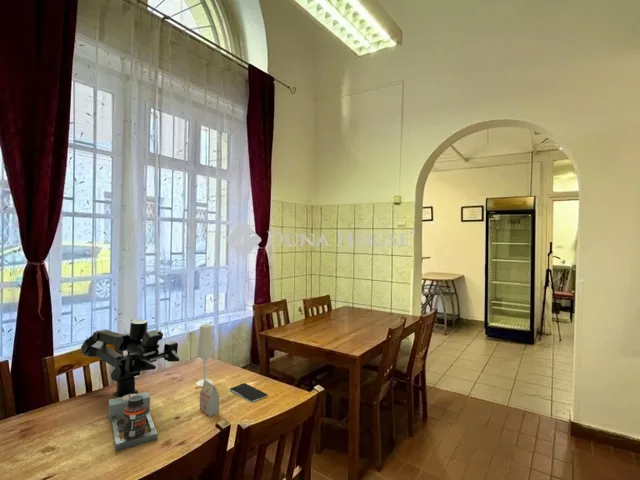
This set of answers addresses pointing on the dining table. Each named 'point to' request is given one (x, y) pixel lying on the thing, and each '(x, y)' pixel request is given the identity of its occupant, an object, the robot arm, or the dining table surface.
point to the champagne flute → (205, 348)
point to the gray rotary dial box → (125, 404)
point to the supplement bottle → (134, 417)
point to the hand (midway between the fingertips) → (167, 363)
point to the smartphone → (248, 392)
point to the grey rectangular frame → (135, 439)
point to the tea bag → (209, 399)
